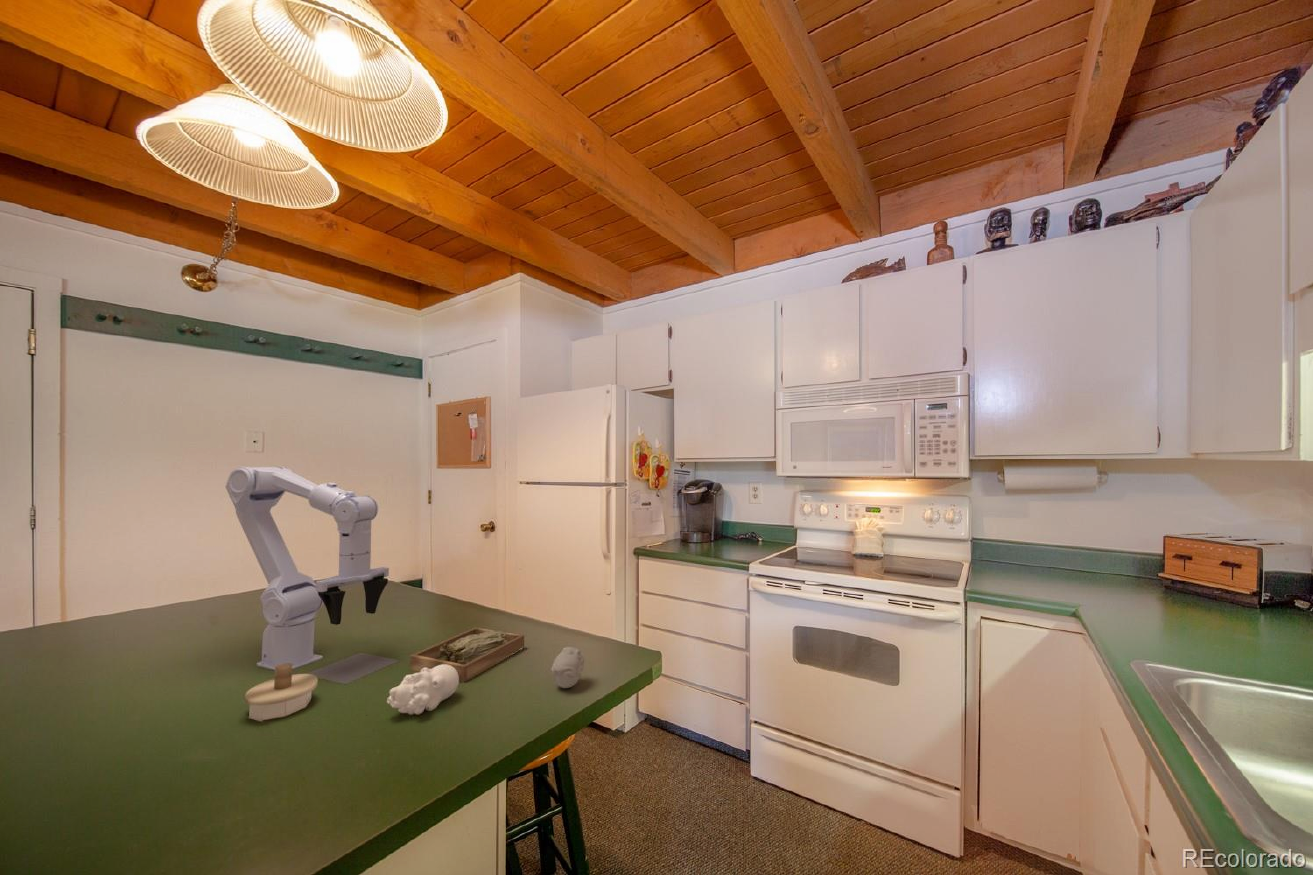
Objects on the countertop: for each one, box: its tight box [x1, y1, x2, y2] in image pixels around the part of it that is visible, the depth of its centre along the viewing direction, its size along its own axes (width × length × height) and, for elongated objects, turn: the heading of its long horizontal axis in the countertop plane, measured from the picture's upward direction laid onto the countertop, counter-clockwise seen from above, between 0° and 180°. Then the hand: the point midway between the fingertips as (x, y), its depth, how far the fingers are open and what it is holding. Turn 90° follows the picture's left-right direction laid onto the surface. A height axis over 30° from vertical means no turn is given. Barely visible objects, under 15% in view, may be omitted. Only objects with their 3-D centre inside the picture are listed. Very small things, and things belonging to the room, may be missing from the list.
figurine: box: [386, 664, 459, 716], centre depth 84 cm, size 7×7×12 cm
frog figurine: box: [550, 646, 585, 689], centre depth 92 cm, size 6×7×7 cm
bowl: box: [248, 690, 313, 722], centre depth 84 cm, size 8×8×3 cm
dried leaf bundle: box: [438, 629, 507, 665], centre depth 105 cm, size 14×10×5 cm, turn 140°
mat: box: [305, 652, 400, 685], centre depth 100 cm, size 12×12×1 cm
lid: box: [244, 663, 319, 706], centre depth 84 cm, size 10×10×4 cm
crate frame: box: [409, 627, 525, 683], centre depth 105 cm, size 15×19×3 cm
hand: (353, 618), depth 101 cm, fingers open, 7 cm apart
